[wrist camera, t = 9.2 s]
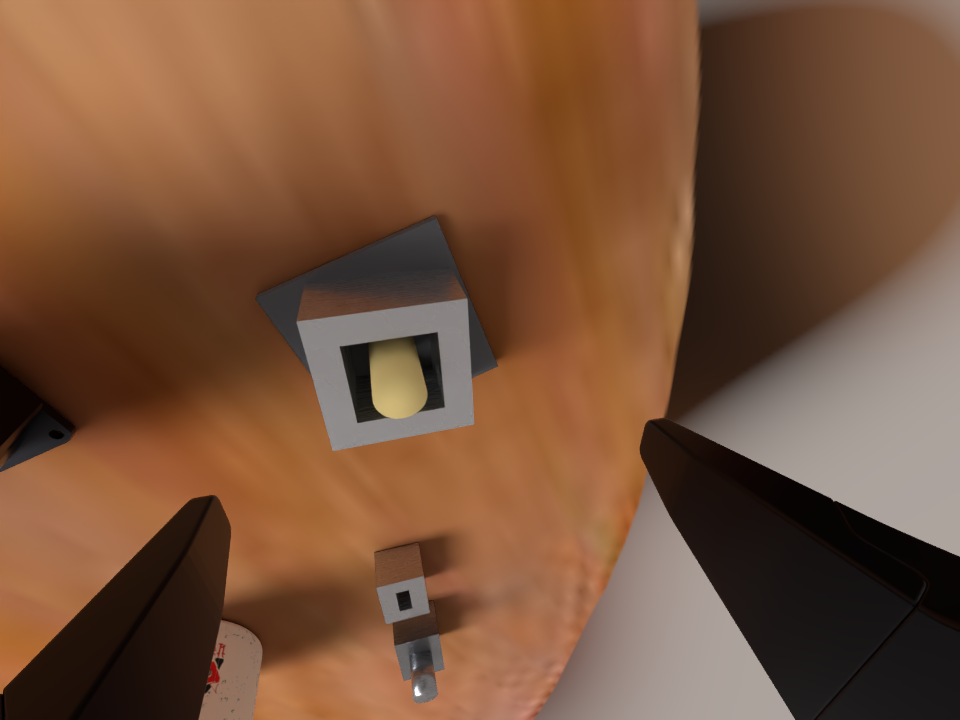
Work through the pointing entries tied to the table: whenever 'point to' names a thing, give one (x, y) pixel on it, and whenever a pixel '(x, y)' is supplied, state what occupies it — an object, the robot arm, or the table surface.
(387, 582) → the link
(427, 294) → the end link
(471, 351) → the grey peg holder
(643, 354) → the table surface
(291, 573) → the table surface
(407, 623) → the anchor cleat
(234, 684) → the teacup with lid
